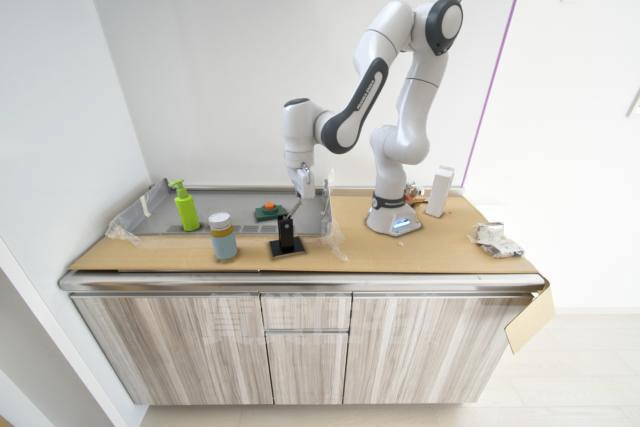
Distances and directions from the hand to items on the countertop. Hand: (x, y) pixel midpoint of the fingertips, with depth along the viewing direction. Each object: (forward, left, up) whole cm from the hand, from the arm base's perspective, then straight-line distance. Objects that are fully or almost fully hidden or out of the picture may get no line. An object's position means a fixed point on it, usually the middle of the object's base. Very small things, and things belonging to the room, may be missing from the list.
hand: (301, 200), depth 79 cm
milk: (-64, -6, -18) cm, 67 cm away
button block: (+8, -26, -18) cm, 33 cm away
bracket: (+6, 0, -18) cm, 19 cm away
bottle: (+26, -2, -18) cm, 32 cm away
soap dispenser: (+40, -25, -18) cm, 50 cm away
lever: (+2, 0, -4) cm, 5 cm away
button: (+8, -26, -15) cm, 31 cm away
